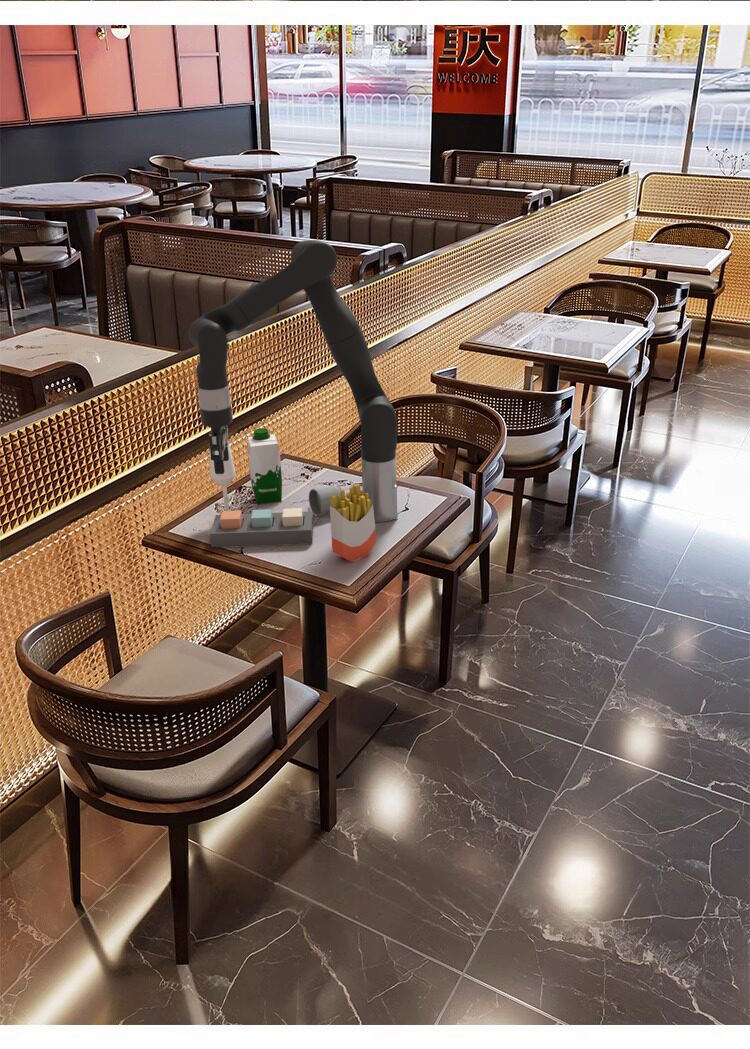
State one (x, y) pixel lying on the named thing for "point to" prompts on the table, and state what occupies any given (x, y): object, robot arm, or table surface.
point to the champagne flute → (223, 475)
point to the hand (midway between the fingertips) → (222, 466)
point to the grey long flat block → (263, 533)
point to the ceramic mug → (322, 499)
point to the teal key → (262, 518)
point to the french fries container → (352, 524)
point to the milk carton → (265, 467)
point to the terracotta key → (231, 519)
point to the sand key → (292, 517)
